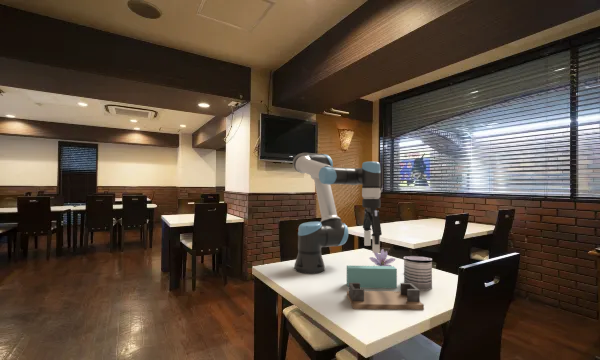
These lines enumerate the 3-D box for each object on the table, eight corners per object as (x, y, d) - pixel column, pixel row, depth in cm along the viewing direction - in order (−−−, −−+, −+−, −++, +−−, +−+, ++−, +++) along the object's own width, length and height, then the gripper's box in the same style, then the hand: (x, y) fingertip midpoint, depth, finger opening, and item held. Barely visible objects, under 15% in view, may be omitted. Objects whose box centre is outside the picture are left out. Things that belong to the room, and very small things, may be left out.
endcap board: (353, 308, 92) (353, 292, 92) (346, 294, 104) (346, 280, 104) (423, 309, 92) (423, 292, 92) (409, 295, 104) (409, 280, 104)
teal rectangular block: (347, 287, 112) (348, 268, 113) (346, 284, 116) (346, 265, 117) (396, 288, 112) (396, 268, 112) (393, 285, 116) (393, 266, 116)
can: (403, 288, 112) (403, 258, 112) (403, 279, 123) (403, 252, 123) (433, 292, 108) (433, 261, 108) (431, 283, 118) (431, 255, 119)
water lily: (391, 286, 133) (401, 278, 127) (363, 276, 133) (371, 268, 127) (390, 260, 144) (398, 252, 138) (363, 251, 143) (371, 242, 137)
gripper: (390, 199, 103) (390, 255, 102) (372, 197, 128) (372, 243, 127) (370, 199, 103) (370, 255, 102) (356, 197, 128) (356, 243, 127)
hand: (371, 248), depth 115 cm, fingers open, 13 cm apart
